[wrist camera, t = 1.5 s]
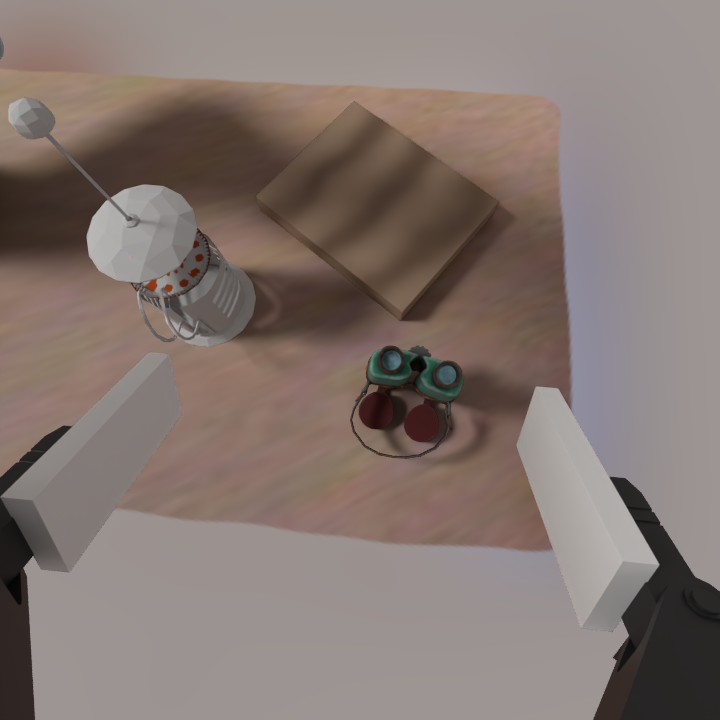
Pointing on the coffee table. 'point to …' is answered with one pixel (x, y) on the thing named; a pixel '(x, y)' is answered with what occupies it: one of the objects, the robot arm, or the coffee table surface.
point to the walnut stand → (377, 208)
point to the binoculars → (431, 383)
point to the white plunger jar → (158, 251)
